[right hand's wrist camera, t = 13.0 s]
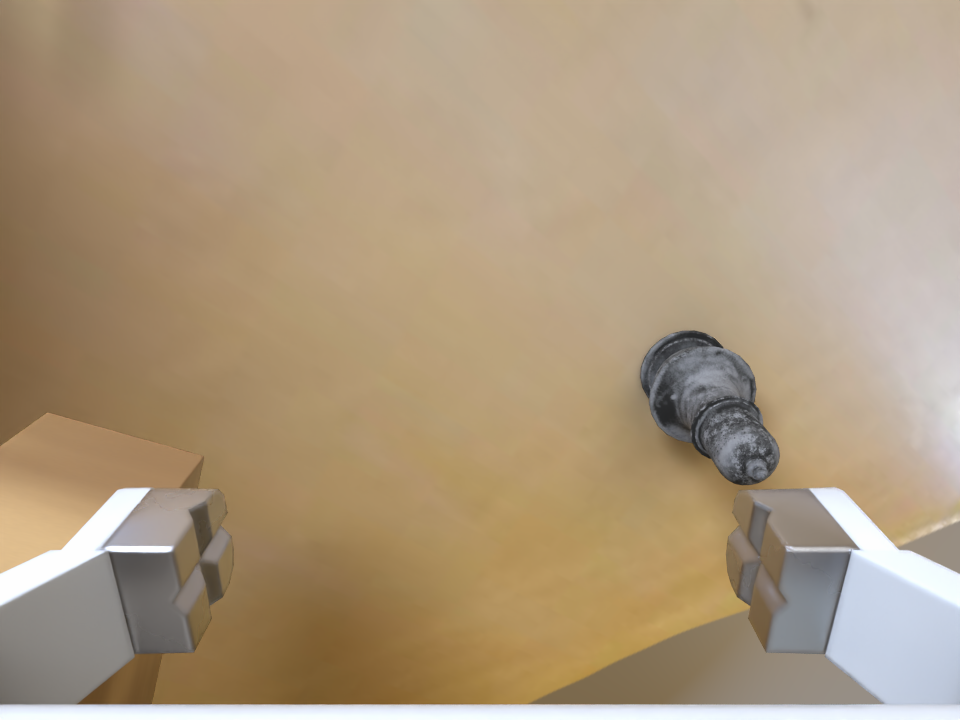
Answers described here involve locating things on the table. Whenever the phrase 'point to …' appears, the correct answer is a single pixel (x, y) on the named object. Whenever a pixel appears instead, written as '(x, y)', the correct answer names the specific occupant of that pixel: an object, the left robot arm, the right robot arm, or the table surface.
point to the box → (81, 506)
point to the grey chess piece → (709, 404)
